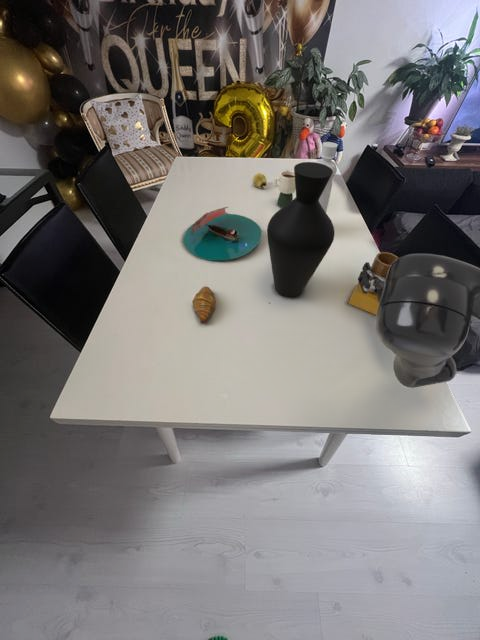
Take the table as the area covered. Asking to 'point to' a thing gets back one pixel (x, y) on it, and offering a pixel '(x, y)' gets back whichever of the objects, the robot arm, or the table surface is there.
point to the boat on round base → (222, 236)
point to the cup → (382, 264)
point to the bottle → (327, 156)
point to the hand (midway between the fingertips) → (381, 265)
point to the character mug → (285, 187)
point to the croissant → (204, 304)
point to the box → (364, 300)
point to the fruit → (259, 180)
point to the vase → (300, 231)
